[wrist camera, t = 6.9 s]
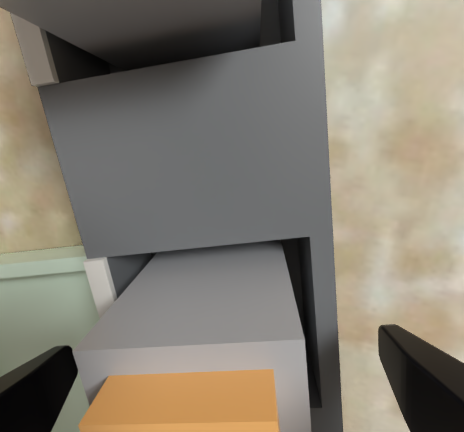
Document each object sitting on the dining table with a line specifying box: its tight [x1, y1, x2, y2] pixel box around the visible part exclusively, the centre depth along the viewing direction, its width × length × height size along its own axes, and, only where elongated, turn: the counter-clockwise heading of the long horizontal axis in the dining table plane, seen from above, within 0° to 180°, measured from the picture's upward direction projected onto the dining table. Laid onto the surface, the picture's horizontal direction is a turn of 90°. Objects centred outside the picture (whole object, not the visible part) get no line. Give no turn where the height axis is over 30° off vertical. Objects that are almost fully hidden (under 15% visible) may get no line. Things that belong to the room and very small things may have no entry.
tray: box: [0, 245, 100, 432], centre depth 14 cm, size 12×9×2 cm
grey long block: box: [10, 0, 343, 432], centre depth 9 cm, size 22×7×4 cm, turn 8°
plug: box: [72, 240, 311, 432], centre depth 8 cm, size 4×4×7 cm
